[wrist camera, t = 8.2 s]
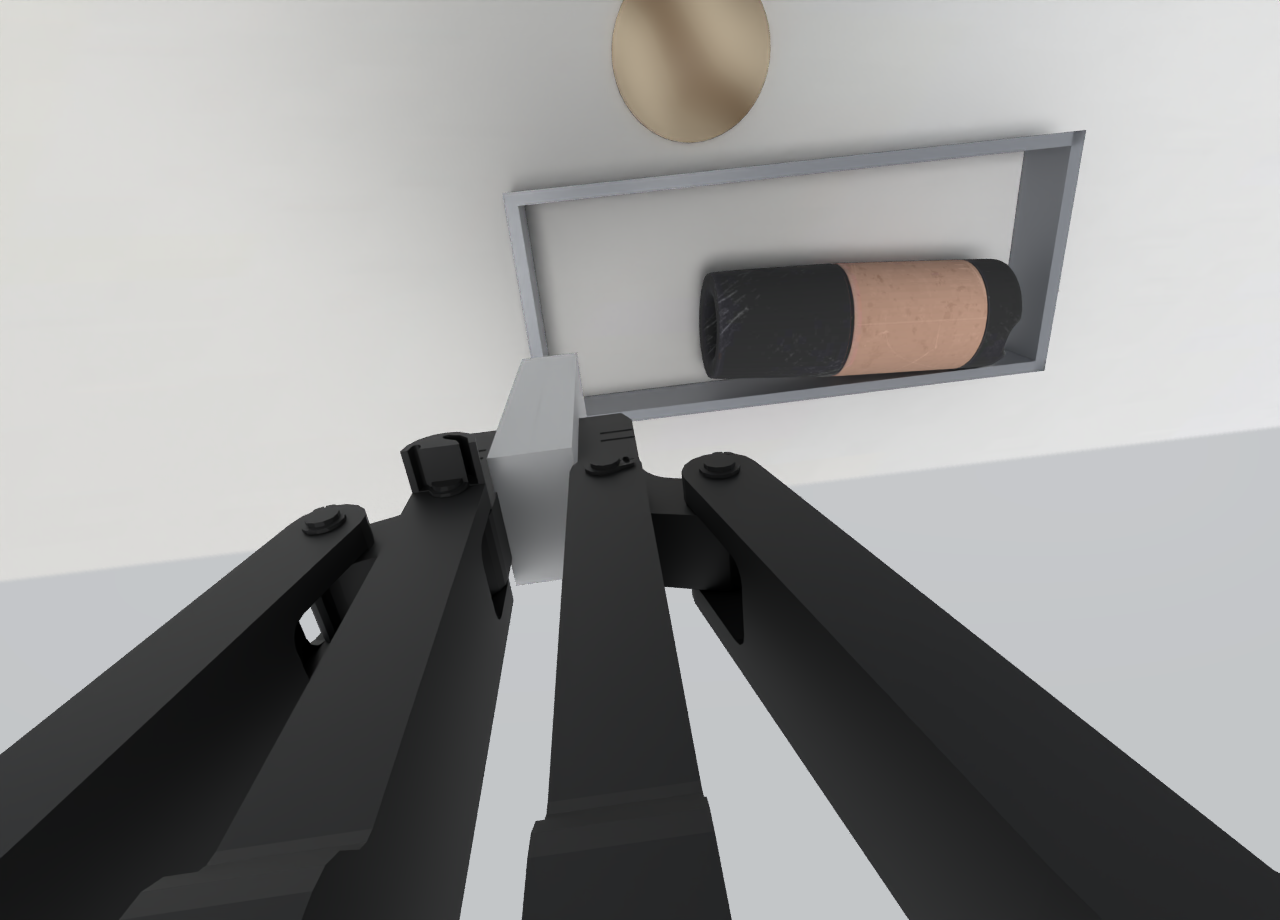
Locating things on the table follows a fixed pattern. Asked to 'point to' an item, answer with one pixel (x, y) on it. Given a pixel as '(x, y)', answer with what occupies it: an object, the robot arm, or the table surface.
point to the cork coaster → (690, 63)
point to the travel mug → (857, 318)
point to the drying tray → (1026, 349)
